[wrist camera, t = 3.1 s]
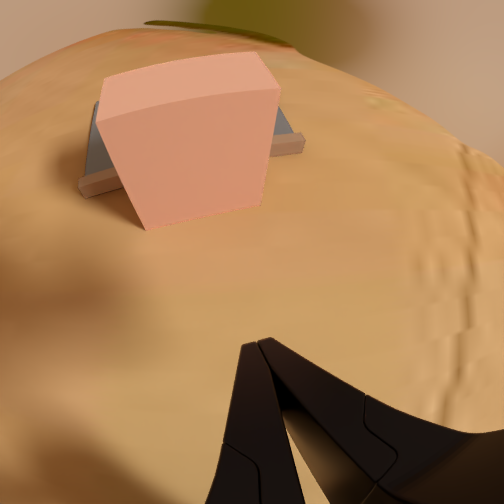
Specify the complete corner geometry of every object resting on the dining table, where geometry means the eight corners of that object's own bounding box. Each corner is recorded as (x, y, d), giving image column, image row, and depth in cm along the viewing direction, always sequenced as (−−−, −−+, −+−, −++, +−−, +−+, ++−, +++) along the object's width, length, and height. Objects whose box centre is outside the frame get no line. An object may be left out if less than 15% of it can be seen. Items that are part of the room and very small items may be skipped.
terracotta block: (146, 230, 23) (95, 122, 12) (141, 185, 25) (104, 78, 14) (260, 205, 24) (281, 88, 13) (245, 163, 26) (255, 51, 15)
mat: (85, 198, 24) (77, 187, 22) (97, 104, 30) (93, 94, 28) (302, 152, 27) (305, 140, 26) (256, 73, 33) (257, 63, 32)
